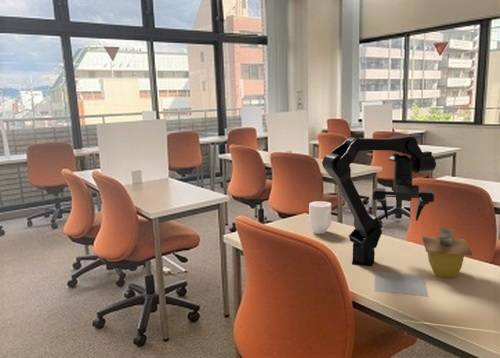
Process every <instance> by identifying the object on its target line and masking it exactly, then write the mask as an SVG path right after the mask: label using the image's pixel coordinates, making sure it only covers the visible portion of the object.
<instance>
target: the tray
mask: <svg viewBox="0 0 500 358" xmlns="http://www.w3.org/2000/svg"><path fill="white" fill-rule="evenodd" d="M426 285H427V284H426V281H425V277H424V275H421V274H413V273H412V274H411V273H400V272H399V273H398V272H389V271H388V272H387V271H379V270H377V271H376V270H375V271H374V292H382V293H389V294H398V295H400V294H401V295H410V296H419V297H429V294H428V289H427V286H426Z"/></svg>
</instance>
